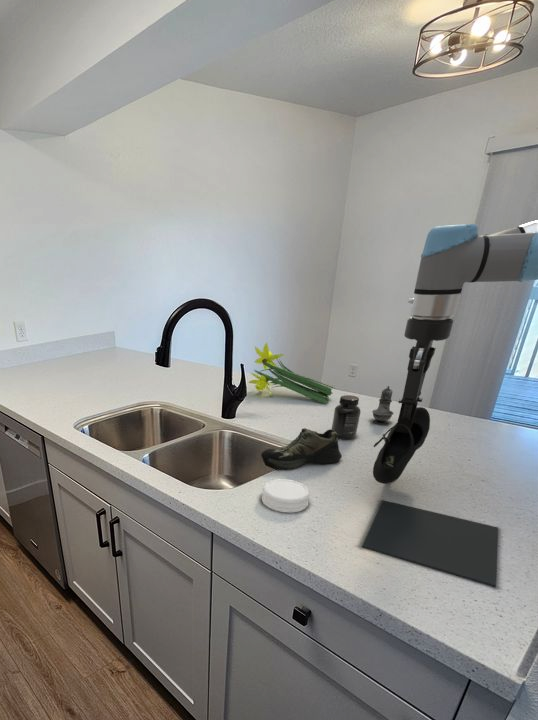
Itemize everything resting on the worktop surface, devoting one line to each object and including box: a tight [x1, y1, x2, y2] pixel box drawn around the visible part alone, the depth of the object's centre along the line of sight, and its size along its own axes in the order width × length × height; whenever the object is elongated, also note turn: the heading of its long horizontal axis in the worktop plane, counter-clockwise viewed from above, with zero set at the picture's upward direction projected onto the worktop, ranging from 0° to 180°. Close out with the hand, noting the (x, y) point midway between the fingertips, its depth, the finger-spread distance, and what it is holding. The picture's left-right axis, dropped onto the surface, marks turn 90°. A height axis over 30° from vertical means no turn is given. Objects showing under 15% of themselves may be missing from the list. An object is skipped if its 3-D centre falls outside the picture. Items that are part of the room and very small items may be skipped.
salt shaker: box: [371, 385, 394, 426], centre depth 135 cm, size 6×6×12 cm
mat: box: [361, 499, 499, 588], centre depth 83 cm, size 20×20×1 cm
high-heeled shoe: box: [372, 406, 431, 485], centre depth 95 cm, size 8×19×20 cm
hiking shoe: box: [260, 428, 343, 471], centre depth 114 cm, size 8×21×9 cm, turn 99°
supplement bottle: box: [330, 394, 361, 441], centre depth 127 cm, size 7×7×12 cm
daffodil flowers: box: [247, 342, 336, 405], centre depth 165 cm, size 17×15×35 cm
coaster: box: [261, 478, 311, 514], centre depth 97 cm, size 10×10×4 cm
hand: (402, 431), depth 94 cm, fingers closed
